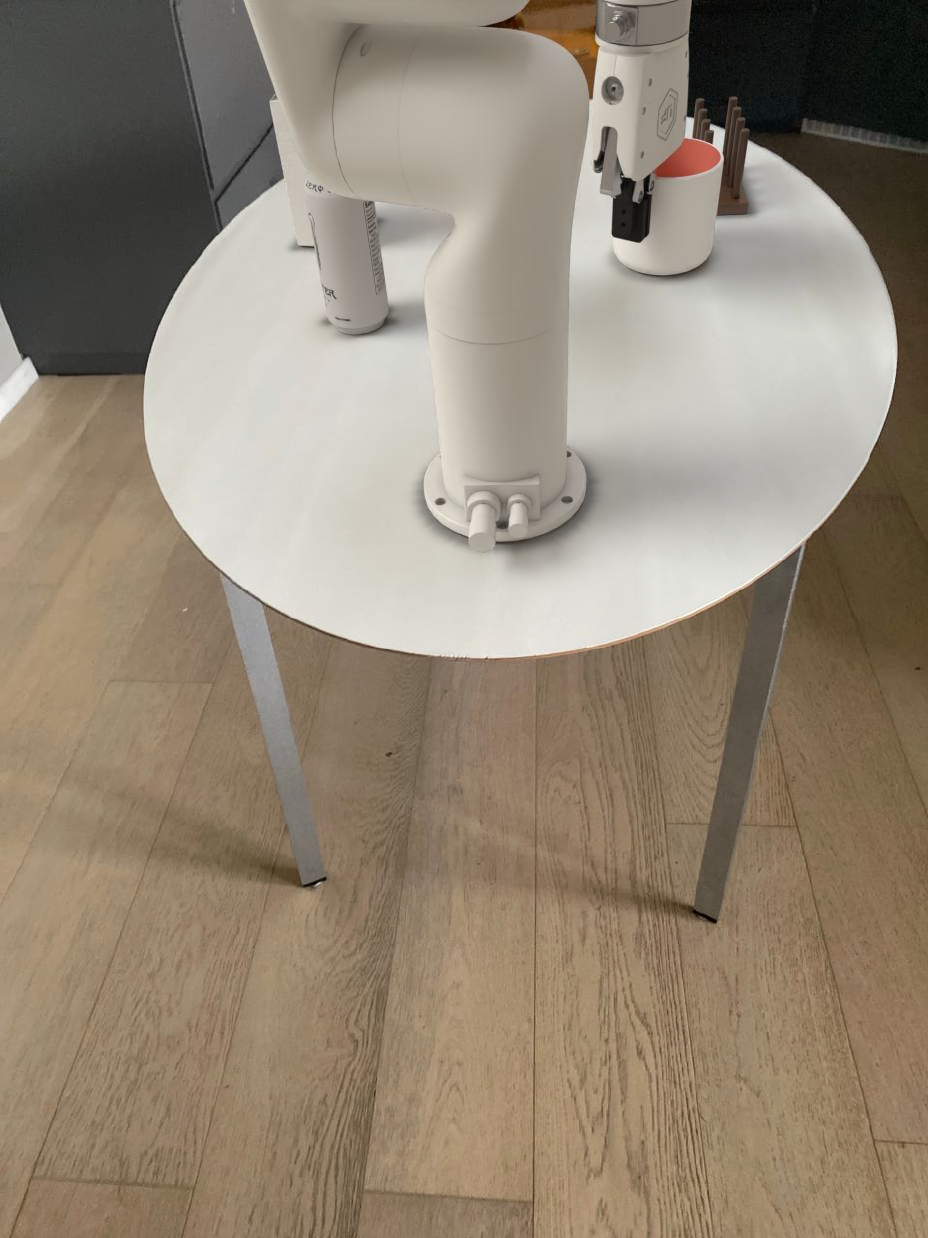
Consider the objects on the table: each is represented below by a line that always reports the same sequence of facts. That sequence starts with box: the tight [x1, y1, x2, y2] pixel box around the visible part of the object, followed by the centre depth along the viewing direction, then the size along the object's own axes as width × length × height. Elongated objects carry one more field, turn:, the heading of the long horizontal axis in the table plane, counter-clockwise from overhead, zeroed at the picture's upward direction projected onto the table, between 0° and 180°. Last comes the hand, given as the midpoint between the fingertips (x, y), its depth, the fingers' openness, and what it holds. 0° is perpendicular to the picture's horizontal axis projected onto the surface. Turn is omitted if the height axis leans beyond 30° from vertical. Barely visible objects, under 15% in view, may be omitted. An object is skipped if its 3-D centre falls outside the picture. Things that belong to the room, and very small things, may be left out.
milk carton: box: [269, 92, 314, 247], centre depth 100 cm, size 7×7×19 cm
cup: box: [612, 136, 724, 276], centre depth 94 cm, size 10×10×10 cm
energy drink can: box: [303, 171, 390, 335], centre depth 88 cm, size 6×6×15 cm
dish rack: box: [691, 96, 750, 216], centre depth 105 cm, size 12×6×8 cm, turn 177°
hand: (630, 236), depth 90 cm, fingers closed
